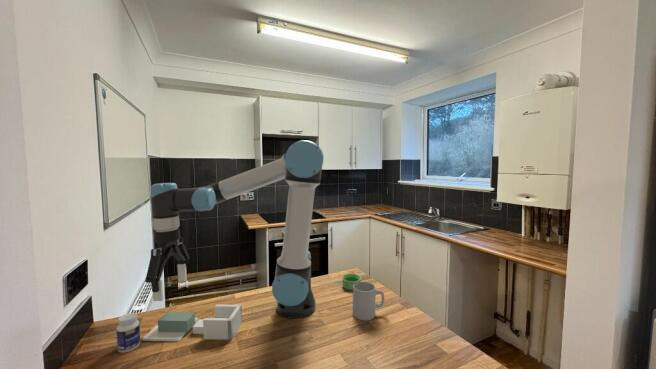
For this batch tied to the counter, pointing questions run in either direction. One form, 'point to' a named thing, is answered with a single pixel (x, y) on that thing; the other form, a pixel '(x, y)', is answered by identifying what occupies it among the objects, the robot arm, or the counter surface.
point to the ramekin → (350, 280)
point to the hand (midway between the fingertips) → (171, 290)
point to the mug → (365, 300)
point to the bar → (176, 322)
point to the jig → (220, 323)
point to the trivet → (164, 335)
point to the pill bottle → (128, 333)
